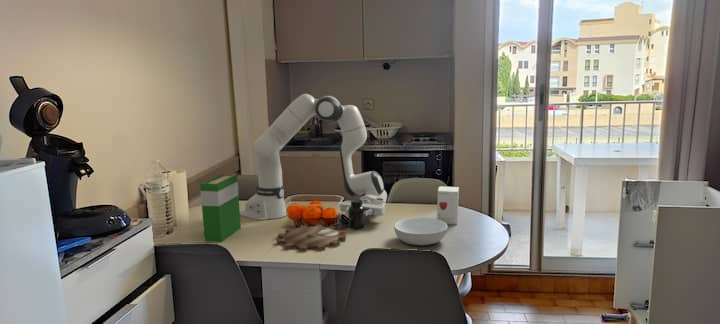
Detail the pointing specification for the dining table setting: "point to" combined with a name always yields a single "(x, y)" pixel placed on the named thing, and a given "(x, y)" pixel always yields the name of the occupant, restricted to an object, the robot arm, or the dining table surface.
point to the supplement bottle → (356, 215)
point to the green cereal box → (220, 207)
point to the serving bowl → (420, 230)
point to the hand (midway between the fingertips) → (355, 212)
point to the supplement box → (448, 204)
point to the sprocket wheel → (311, 238)
